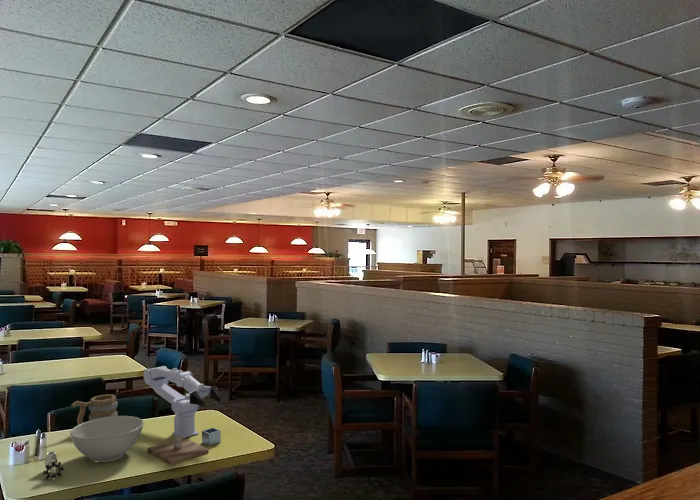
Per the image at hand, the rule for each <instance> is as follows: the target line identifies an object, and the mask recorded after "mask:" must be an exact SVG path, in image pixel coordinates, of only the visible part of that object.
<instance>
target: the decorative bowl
mask: <svg viewBox="0 0 700 500" xmlns="http://www.w3.org/2000/svg"><path fill="white" fill-rule="evenodd" d="M144 424H145V423H144V420H143V419H141V418H139V417H137V416H130V415H129V416H128V415H118V416H112V417H105V418H99V419H94V420H91V421H90V420H88V421H85V422H84V421H83V423H82V424H79V425H78V424H77V425H76V426H74V427H73V428H72V429H71V430H70V432H69V436H70V438H71V441H72V443H73V445H74V446H75V448H76V449H77V451H78V452H80V453H81V454H82V455H83V456H85V457H87V458H89V459H90V460H91V459H92V460H93V461H98V462H104V463H110V462H109V461H111V462H114V461H117V460H119V459H122V458H123V457H124V456H125V455H126V453H127V452H128V451H129V450H130V449H132V448H133V447H134V445H135V444H136V443H137V441H138V440H139V438H140V436H141V433H142V430H143V427H144ZM92 460H91V461H92ZM93 461H92V462H93ZM98 462H97V463H98Z"/></svg>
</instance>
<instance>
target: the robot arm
mask: <svg viewBox="0 0 700 500" xmlns="http://www.w3.org/2000/svg"><path fill="white" fill-rule="evenodd" d="M142 375H143V379H144V380H143V381H144V383H145V384H147V385H148V386H149V387H151V388H152V389H153V390H154V392H155V393H156V394H157V395H158V396H160V397H162V399H164V400H165V401H167V402H168V403H170V404H171V411H173V412H174V414H175V416H174V418H173V429H174V431H173V432H172V434H173V435H174V436H175V435H181V436H182V437H184V438H186V439H187V438H188V437H192V436H195V435H198V434H200V433H199V432H198V431H196V426H195V425H196V424H195V422H196V419H195V417H196V415H195V414H196V413H197V411H198V409H199V407H204V408H205V406H206V405H205V404H206V401H205V400H204V398H205V397H207V396H208V395H210V396H209V397H210V398H209V399H212V400H214V401H216V402H217V403H220V402H221V396H220V393H219V392H218V387H217V386H216V385H211V386H209V385H205V384H204V383H200V381H198V380H197V379H196V378H195V377H194V374H193V373H192V371H190V370H187V371H186V370H185V371H183V370H181V369H178V368H177V367H174V368H172V369H169V368H168V367H167V366H165V365H162V366H157V367H153V368H146V369H144V372H143V373H142ZM169 382H172V383H174V384H176V387H178V388H180V387H181V388H183V389H185V390H186V391H187V392H188V393H185V395H184V394H181V393H180V392H178V391H177V390H175V389H173V388H172V387H171V386H170V385H168V384H169Z"/></svg>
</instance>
